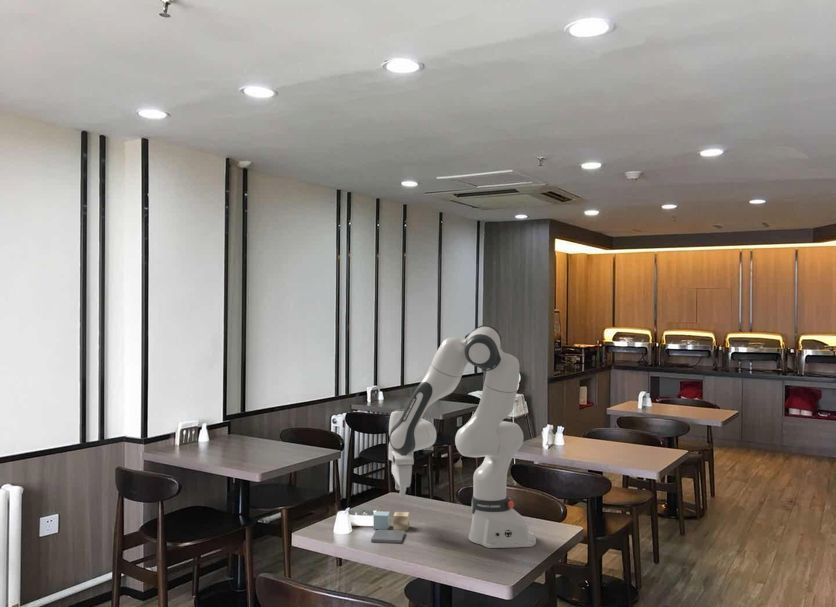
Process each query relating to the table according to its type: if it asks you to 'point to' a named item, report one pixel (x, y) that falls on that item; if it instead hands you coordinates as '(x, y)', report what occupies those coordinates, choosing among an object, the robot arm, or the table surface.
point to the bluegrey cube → (381, 520)
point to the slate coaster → (388, 536)
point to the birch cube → (401, 521)
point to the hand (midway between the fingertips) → (400, 493)
